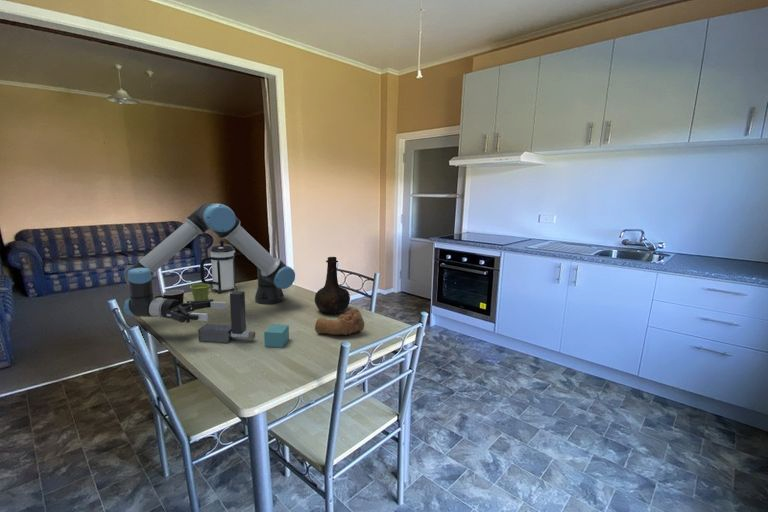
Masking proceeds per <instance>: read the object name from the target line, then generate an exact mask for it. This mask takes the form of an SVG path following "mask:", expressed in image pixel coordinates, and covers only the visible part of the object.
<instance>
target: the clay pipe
mask: <svg viewBox="0 0 768 512" xmlns="http://www.w3.org/2000/svg"><path fill="white" fill-rule="evenodd" d="M364 329H365V321H364V319H363V315H362V314H361V312H360V310H359V309H357V308H355V307H353V308H351V309H348V311H345V312H344V313H343V314H339V316H338V318H337V319H327V318H325V317H318V318H317V319H316V322H315V324H314V330H315V332H316V333H317V334H328V335H334V336H335V335H336V336H337V335H343V336H348V335H347V334H350V335H352V334H355V333H357V332H356V331H360V332H362V331H363V330H364ZM351 333H352V334H351Z"/></svg>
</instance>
